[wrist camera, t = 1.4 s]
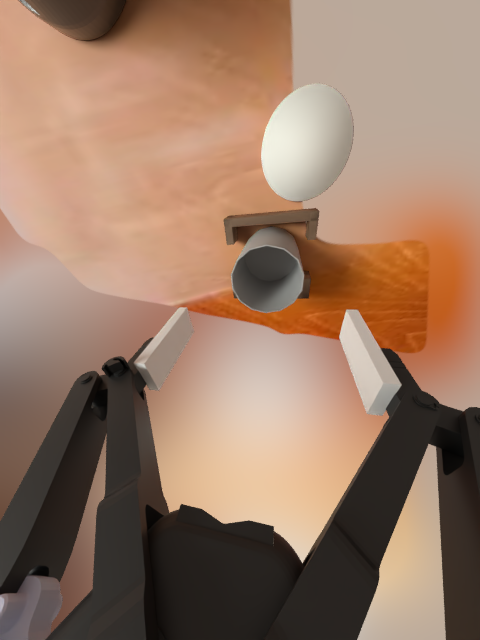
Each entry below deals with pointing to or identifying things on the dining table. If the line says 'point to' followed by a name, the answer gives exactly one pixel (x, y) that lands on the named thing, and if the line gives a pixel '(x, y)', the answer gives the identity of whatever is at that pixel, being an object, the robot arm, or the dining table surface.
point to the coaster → (307, 142)
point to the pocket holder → (275, 218)
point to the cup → (268, 271)
